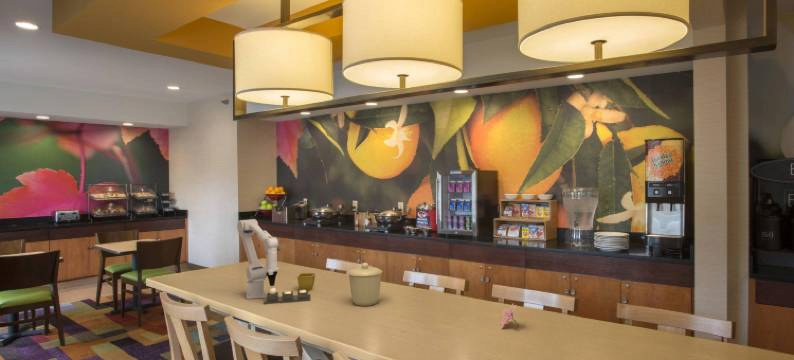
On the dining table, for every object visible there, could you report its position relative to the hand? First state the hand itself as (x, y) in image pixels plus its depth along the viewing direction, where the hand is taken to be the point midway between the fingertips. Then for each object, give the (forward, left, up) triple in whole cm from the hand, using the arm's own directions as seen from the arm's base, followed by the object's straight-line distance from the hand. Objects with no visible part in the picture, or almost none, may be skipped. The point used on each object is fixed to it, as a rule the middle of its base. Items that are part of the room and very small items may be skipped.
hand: (272, 285), depth 244 cm
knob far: (+16, 0, -7) cm, 18 cm away
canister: (+48, -18, -9) cm, 52 cm away
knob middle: (+8, 0, -7) cm, 11 cm away
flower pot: (+18, +20, -9) cm, 28 cm away
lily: (+103, -70, -9) cm, 125 cm away
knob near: (0, 0, -5) cm, 5 cm away
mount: (+8, 0, -8) cm, 12 cm away
